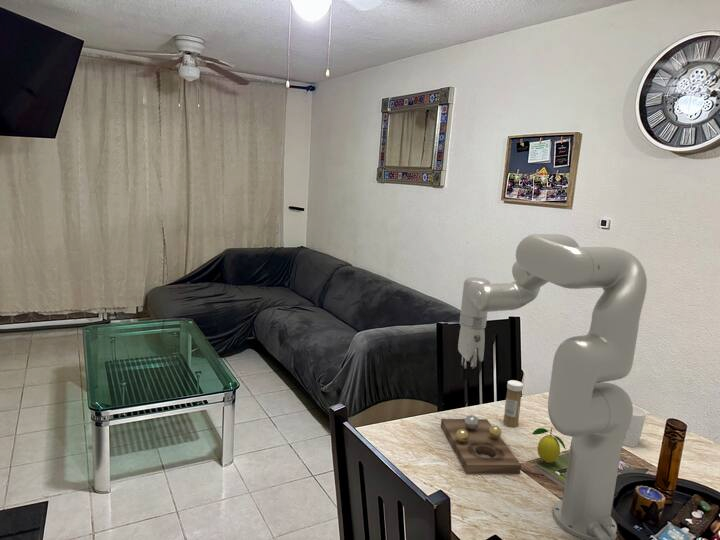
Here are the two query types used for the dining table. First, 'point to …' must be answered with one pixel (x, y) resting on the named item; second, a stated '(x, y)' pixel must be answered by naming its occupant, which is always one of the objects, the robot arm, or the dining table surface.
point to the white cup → (635, 427)
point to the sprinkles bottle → (512, 403)
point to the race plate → (480, 449)
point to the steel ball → (471, 422)
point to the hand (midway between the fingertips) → (466, 379)
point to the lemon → (548, 446)
